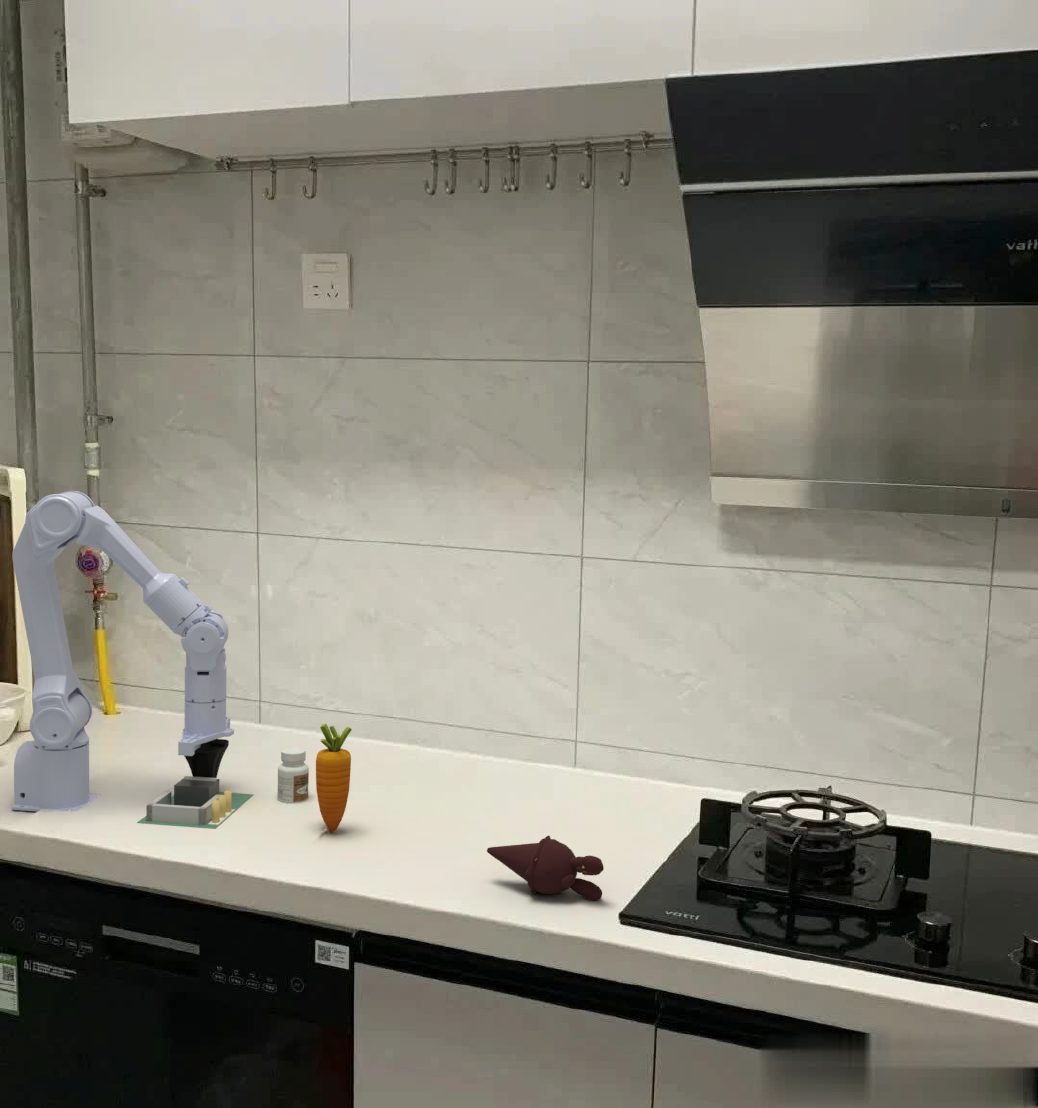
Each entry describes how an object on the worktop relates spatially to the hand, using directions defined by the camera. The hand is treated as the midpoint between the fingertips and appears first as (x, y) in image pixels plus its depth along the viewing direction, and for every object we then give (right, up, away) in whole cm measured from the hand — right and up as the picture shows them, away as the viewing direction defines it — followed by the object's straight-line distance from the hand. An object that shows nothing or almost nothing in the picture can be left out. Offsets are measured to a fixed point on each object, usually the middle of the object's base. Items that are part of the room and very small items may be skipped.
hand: (205, 791), depth 167 cm
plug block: (0, -1, -3) cm, 3 cm away
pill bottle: (+12, -2, +2) cm, 13 cm away
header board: (0, -2, -4) cm, 4 cm away
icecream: (+48, -7, -28) cm, 56 cm away
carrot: (+20, -4, -10) cm, 23 cm away
